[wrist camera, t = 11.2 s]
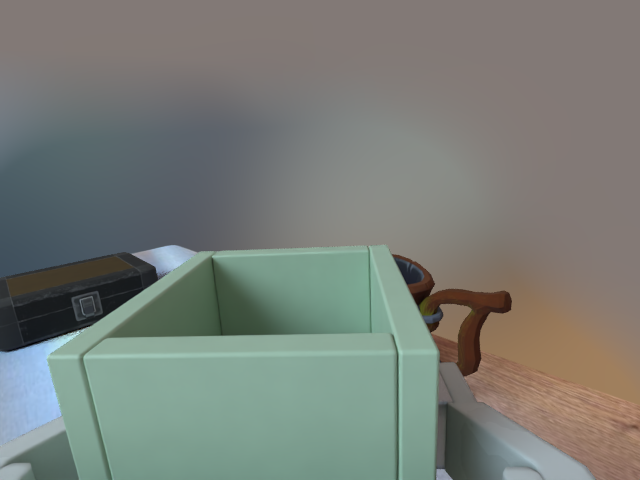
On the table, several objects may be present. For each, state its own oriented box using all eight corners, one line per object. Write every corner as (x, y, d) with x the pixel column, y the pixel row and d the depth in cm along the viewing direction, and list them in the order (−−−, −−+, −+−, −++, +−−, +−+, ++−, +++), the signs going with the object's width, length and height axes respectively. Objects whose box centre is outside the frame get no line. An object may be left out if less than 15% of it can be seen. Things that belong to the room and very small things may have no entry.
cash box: (-3, 358, 52) (-18, 310, 50) (-7, 318, 66) (-19, 280, 65) (165, 303, 69) (159, 266, 67) (133, 281, 83) (127, 250, 81)
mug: (520, 402, 37) (533, 270, 34) (472, 469, 30) (481, 309, 26) (385, 342, 50) (384, 242, 47) (328, 378, 43) (321, 263, 39)
